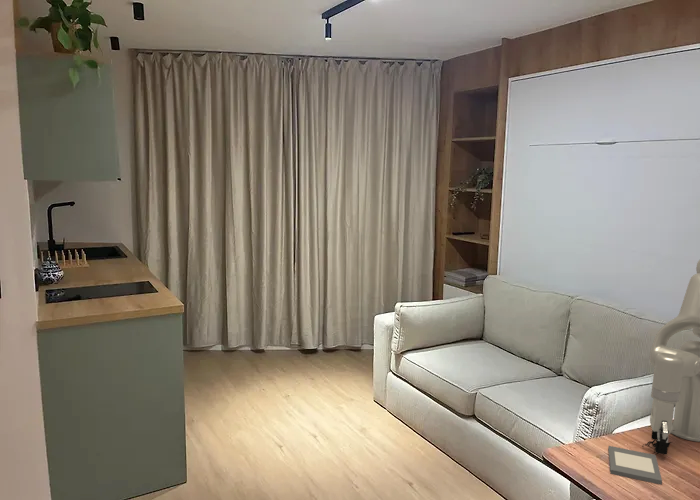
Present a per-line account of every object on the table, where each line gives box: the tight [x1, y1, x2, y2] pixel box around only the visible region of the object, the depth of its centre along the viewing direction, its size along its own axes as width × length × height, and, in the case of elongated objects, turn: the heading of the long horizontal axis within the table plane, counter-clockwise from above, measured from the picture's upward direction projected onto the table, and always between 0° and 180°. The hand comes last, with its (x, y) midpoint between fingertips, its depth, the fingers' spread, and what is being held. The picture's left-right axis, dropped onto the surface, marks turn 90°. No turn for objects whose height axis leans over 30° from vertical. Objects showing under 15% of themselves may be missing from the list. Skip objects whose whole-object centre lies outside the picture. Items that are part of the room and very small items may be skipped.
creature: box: [641, 437, 673, 456], centre depth 177 cm, size 8×5×8 cm
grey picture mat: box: [607, 445, 663, 486], centre depth 167 cm, size 16×13×1 cm
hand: (658, 446), depth 177 cm, fingers open, 9 cm apart
